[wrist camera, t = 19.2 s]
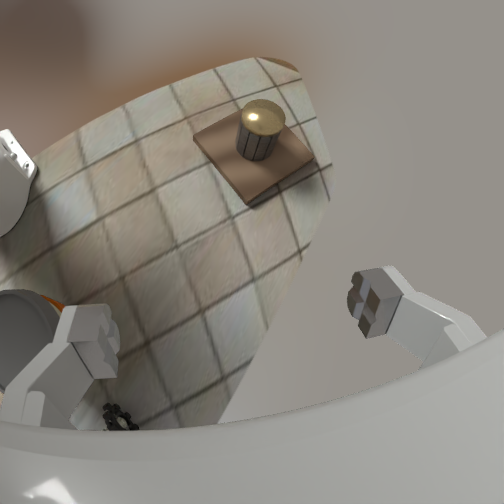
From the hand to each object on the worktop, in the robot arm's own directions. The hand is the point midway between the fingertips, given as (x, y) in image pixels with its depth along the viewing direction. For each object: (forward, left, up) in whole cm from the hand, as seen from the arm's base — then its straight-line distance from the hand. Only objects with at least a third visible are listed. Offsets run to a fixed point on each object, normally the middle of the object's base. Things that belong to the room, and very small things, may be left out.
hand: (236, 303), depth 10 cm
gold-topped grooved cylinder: (-16, +21, -32) cm, 41 cm away
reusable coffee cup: (-9, -20, -34) cm, 40 cm away
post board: (-16, +21, -33) cm, 43 cm away
